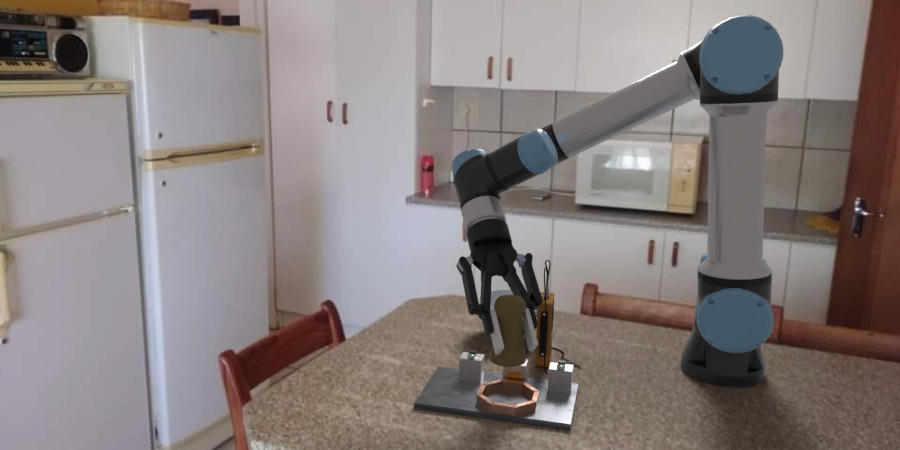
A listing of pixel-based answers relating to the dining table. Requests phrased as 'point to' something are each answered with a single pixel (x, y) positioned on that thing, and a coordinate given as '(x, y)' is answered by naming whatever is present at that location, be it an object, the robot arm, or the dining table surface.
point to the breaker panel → (502, 393)
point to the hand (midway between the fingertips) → (516, 349)
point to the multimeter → (546, 328)
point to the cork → (510, 331)
